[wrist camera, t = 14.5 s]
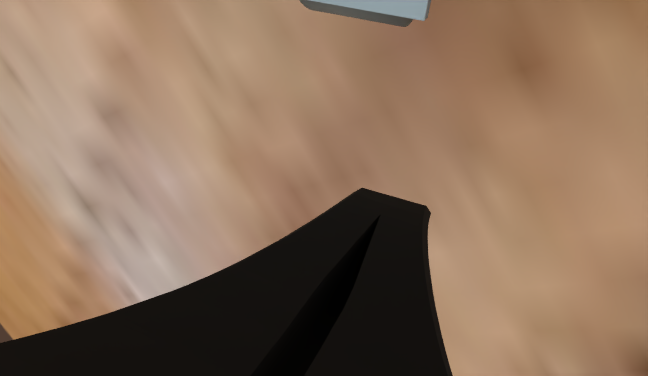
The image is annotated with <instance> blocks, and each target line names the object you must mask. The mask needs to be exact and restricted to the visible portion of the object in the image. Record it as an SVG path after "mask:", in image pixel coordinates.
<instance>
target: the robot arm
mask: <svg viewBox="0 0 648 376" xmlns="http://www.w3.org/2000/svg"><path fill="white" fill-rule="evenodd" d="M430 215H431V213H430V211H429V209H428V208H427V206H425V205H421V204H418V203H414V202H410V201H407V200H403V199H400V198H396V197H393V196H389V195H386V194H382V193H379V192H375V191H372V190H368V189H365V188H361V189H359V190H357V191H355V192H354V193H352V194H351V195H349V196H348V197H346V198H345V199H343V200H342V201H340V202H339V203H337V204H336V205H335V206H333V207H332V208H330V209H329V210H327V211H325V212H324V213H322V214H321V215H319V216H318V217H316V218H315V219H313V220H312V221H310V222H308V223H307V224H305V225H303V226H302V227H300V228H299V229H297V230H295V231H294V232H292V233H290V234H289V235H287V236H285V237H284V238H282V239H280V240H279V241H277V242H275V243H273V244H271V245H269V246H267V247H266V248H264V249H262V250H260V251H258V252H256V253H254V254H253V255H251V256H249V257H247V258H245V259H243V260H241V261H239V262H237V263H235V264H233V265H231V266H229V267H227V268H225V269H223V270H221V271H219V272H216V273H214V274H212V275H210V276H208V277H205V278H203V279H200V280H198V281H196V282H193V283H191V284H189V285H186V286H184V287H181V288H179V289H176V290H174V291H171V292H168V293H165V294H162V295H159V296H157V297H154V298H151V299H148V300H145V301H142V302H140V303H137V304H134V305H131V306H128V307H125V308H122V309H120V310H117V311H114V312H111V313H108V314H105V315H101V316H98V317H95V318H91V319H88V320H85V321H81V322H78V323H74V324H71V325H68V326H64V327H61V328H57V329H53V330H49V331H46V332H42V333H38V334H34V335H31V336H27V337H23V338H19V339H15V340H11V341H7V342H3V343H0V376H453V375H452V372H451V369H450V365H449V362H448V358H447V354H446V351H445V347H444V343H443V339H442V335H441V330H440V326H439V321H438V317H437V312H436V307H435V302H434V296H433V290H432V283H431V275H430V268H429V258H428V223H429V218H430Z"/></svg>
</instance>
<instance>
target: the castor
mask: <svg viewBox="0 0 648 376" xmlns="http://www.w3.org/2000/svg"><path fill="white" fill-rule="evenodd" d="M300 2H301V3H302V4H303V5H304V6H305V7H306V8H308V9H310V10H315V11H320V12H326V13H331V14H337V15H342V16H347V17H353V18H358V19H364V20H369V21H375V22H380V23H385V24H391V25H396V26H402V27H406V26H408V25H409V24H410V23H411V22H412V20H413V19H417V20H422V21H424V20H425V19H426V18H427V17H428V13H429V8H430V3H431V0H300Z"/></svg>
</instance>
